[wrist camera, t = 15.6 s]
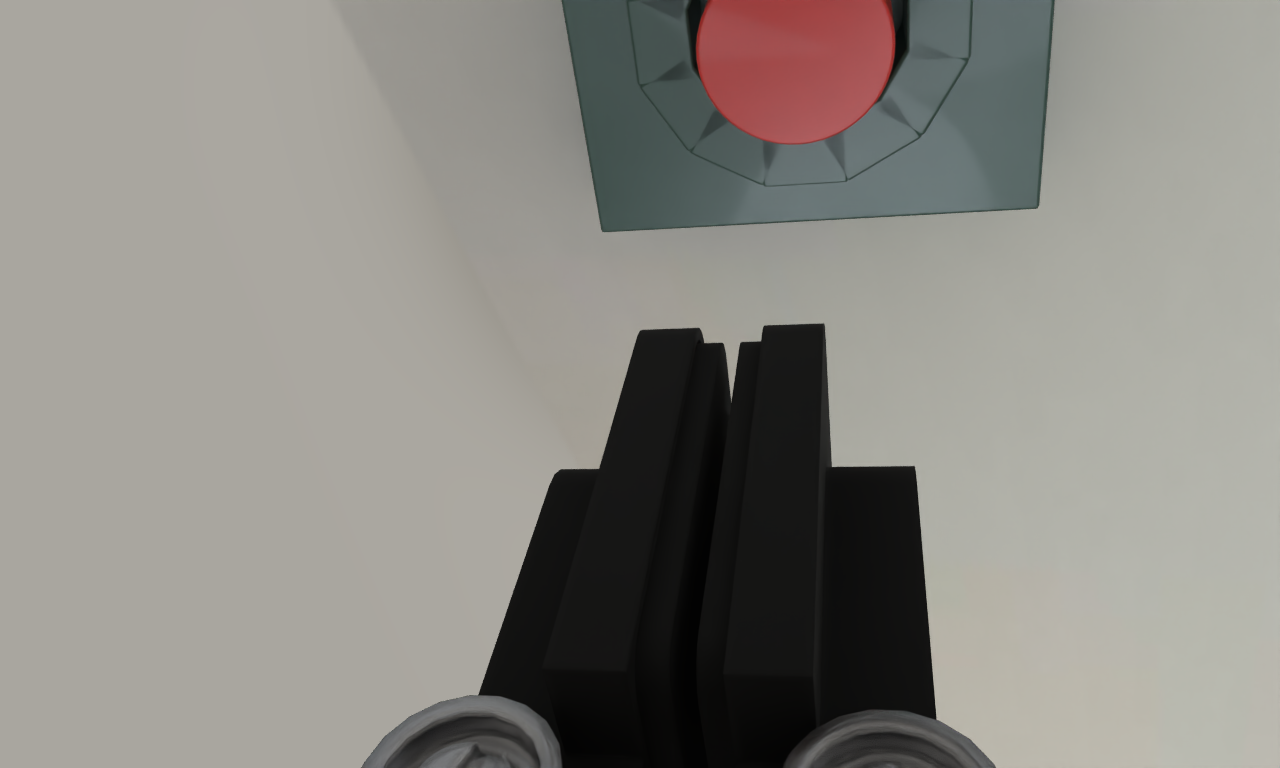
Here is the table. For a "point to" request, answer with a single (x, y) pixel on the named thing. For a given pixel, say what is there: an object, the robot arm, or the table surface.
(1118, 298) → the table surface
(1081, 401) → the table surface
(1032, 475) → the table surface
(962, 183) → the green button base
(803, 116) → the lid button
